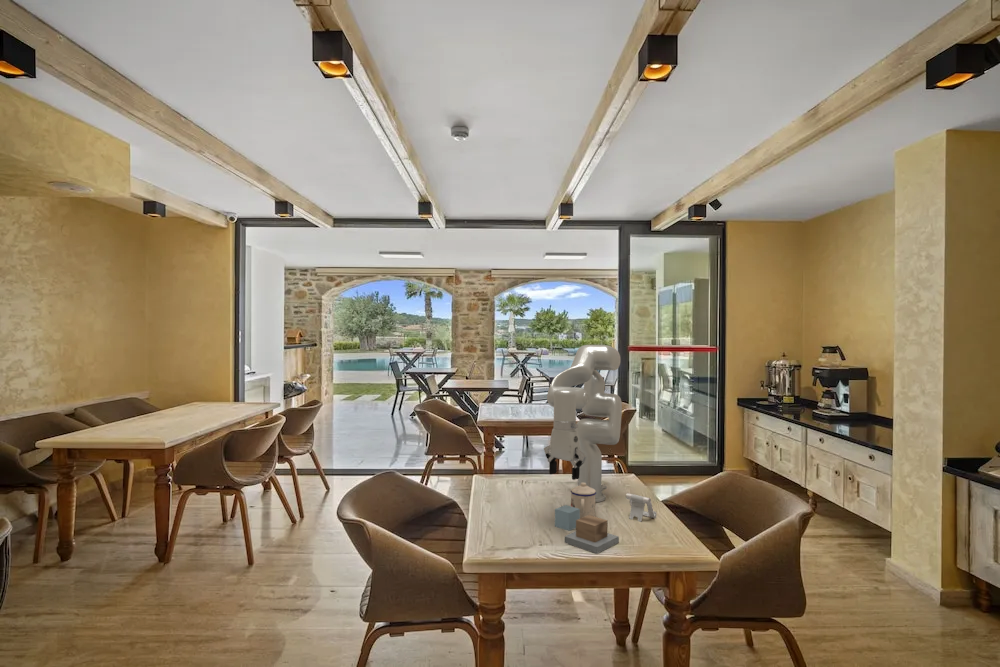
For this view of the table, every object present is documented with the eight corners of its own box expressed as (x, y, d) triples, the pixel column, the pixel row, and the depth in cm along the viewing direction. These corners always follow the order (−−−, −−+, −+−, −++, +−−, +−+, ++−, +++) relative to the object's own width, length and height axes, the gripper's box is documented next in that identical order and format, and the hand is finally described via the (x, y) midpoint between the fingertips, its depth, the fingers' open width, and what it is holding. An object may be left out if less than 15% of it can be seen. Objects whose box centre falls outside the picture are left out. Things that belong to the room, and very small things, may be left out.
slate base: (586, 532, 173) (586, 526, 173) (618, 542, 164) (618, 536, 164) (564, 542, 164) (564, 536, 164) (597, 553, 156) (597, 547, 156)
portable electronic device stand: (656, 518, 188) (656, 494, 188) (646, 523, 182) (646, 499, 182) (634, 512, 194) (634, 489, 194) (624, 517, 188) (624, 494, 188)
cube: (565, 522, 182) (565, 505, 183) (579, 526, 178) (579, 509, 178) (554, 526, 178) (554, 508, 178) (568, 531, 174) (569, 513, 174)
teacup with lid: (571, 510, 195) (571, 478, 195) (596, 512, 193) (596, 480, 193) (569, 521, 183) (569, 487, 183) (595, 523, 181) (595, 489, 182)
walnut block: (588, 530, 169) (588, 514, 169) (607, 536, 164) (607, 520, 164) (575, 536, 164) (576, 520, 164) (594, 542, 159) (594, 525, 159)
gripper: (592, 427, 175) (591, 479, 175) (552, 421, 187) (551, 469, 187) (578, 430, 170) (577, 483, 169) (538, 423, 182) (537, 473, 182)
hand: (564, 476), depth 178 cm, fingers open, 9 cm apart
